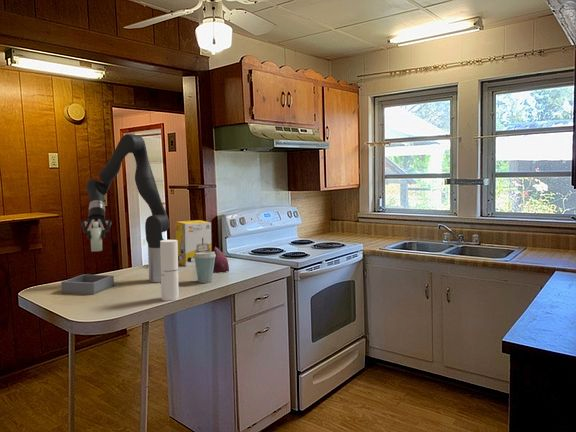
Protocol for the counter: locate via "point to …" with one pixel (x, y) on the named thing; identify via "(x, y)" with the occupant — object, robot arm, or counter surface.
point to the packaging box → (192, 240)
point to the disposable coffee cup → (205, 266)
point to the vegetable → (220, 262)
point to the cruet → (96, 237)
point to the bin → (87, 284)
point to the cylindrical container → (169, 269)
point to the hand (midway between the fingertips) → (96, 238)
